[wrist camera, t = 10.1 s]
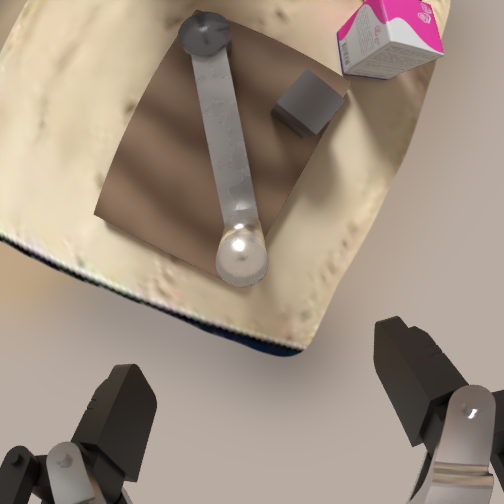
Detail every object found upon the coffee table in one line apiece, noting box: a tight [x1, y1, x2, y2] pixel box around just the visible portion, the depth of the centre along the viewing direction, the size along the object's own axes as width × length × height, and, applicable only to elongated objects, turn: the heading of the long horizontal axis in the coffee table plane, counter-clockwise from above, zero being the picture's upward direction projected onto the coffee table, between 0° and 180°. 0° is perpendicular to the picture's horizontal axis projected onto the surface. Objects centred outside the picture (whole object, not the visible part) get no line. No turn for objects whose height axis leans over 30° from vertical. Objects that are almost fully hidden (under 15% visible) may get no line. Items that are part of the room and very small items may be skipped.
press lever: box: [178, 12, 268, 287], centre depth 20 cm, size 22×4×12 cm, turn 10°
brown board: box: [94, 10, 351, 279], centre depth 24 cm, size 25×18×8 cm
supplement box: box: [337, 0, 444, 80], centre depth 19 cm, size 6×6×12 cm
